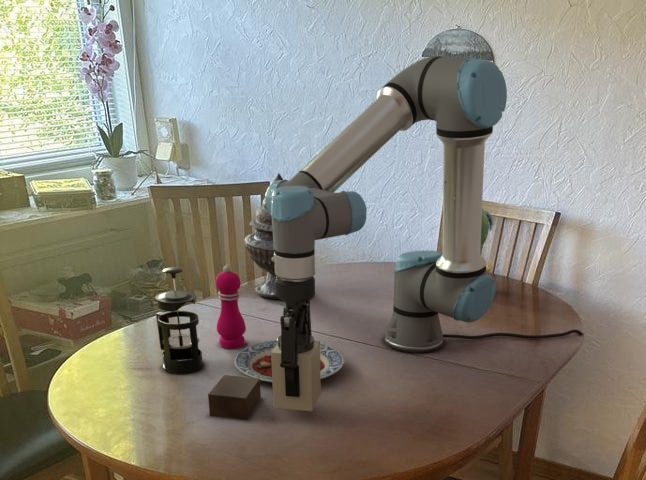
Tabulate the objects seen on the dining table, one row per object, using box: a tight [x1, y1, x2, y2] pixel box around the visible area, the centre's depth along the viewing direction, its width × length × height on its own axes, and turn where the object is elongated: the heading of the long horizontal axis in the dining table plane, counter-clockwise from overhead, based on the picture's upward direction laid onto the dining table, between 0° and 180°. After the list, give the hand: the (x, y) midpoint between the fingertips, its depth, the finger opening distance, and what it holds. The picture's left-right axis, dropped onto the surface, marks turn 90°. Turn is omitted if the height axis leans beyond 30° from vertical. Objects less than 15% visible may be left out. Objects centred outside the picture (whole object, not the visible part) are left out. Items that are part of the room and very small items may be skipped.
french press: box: [154, 267, 205, 375], centre depth 160 cm, size 12×9×23 cm
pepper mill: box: [214, 264, 247, 350], centre depth 174 cm, size 7×7×20 cm
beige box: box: [271, 333, 322, 412], centre depth 142 cm, size 15×8×15 cm
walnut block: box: [207, 374, 262, 421], centre depth 148 cm, size 8×10×5 cm
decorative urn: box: [244, 172, 284, 300], centre depth 206 cm, size 20×20×35 cm
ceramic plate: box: [234, 339, 345, 383], centre depth 167 cm, size 26×26×3 cm
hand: (298, 386), depth 144 cm, fingers closed on beige box, 8 cm apart
